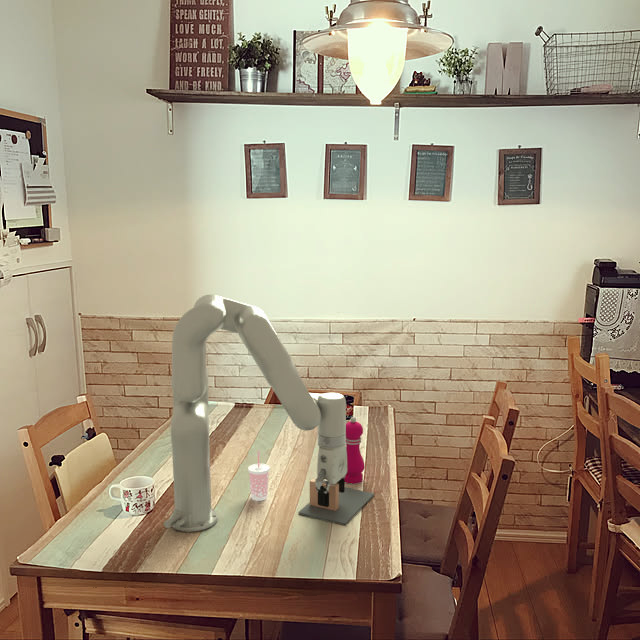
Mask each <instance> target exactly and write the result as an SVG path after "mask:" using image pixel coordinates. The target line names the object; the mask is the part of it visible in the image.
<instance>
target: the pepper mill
mask: <svg viewBox="0 0 640 640" xmlns="http://www.w3.org/2000/svg"><path fill="white" fill-rule="evenodd" d="M363 433H364V428H363V426H362V424H361V423H360V422H358V421H357V418H356V417H355V416H351V417H350V421H348V422H346V450H347V473H346V475H345V478H343V479H345V482H346V484H349V483H352V484H351V485H355V484H356V483H357V484H360V483H362V482H363V480H364V474H363V472H364V470H365V461H364V459H363V456H362V454H361V453H362V452H361V449H360V448H361V447H360V446H361V445H360V444H361V443H362V437H361V436H362V435H363Z"/></svg>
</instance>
